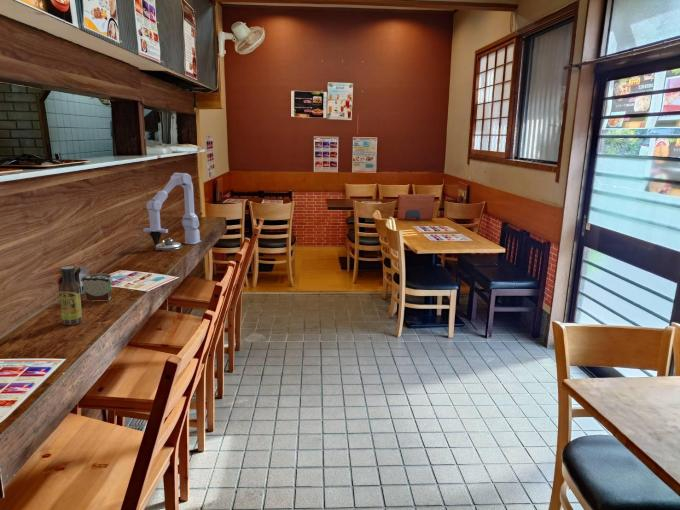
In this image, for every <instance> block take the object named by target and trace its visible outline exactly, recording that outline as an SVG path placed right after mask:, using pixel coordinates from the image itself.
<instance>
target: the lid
mask: <svg viewBox="0 0 680 510" xmlns="http://www.w3.org/2000/svg"><path fill="white" fill-rule="evenodd" d="M163 240H164V243H165V245H173V242H174V239H173V238H171V237H167V238H164V239H163Z"/></svg>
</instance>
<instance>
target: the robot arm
mask: <svg viewBox="0 0 680 510" xmlns="http://www.w3.org/2000/svg"><path fill="white" fill-rule="evenodd" d="M192 181H193V180H192V176H191V175H190V174H189V173H186V172H174V173H173V174H172V175H171V176H170V179H169V181H168V182H167V183H166V185H165V186H164V188H163V189H162V190H158V191H156V194H155V195H154V197H152V198H151V200H148V201H147V202H146V205H145V207H146V209H147V212H148V221H149V227H145V228H144V227H143V228H142V232H143V233H149V236H150V238H151V239H152V242H153V244H154V245H155V246H156V245H158V244H159V243H160V242H159V241H160V239H161V236H162V233H163V234H167V233H169V229H167V228H162V227H161V215H160V214H161V213H160V210H161V209H162V207H163V206H162V205H163V203H164V202H166V200H167V199H168V197H169V195H168V194H169V193H170V192H171V191H172V190H173V189H174V188H175V187H176V186H181V187H182V188H183V196H184V197H183V199H184V214H183V215H182V220H181V225H182V227H183V229H184V238H185V242H183V243H185V244H186V245H196V244H198V243H201V242H202V240H201V235H200V229H198V228H199V227H200V221H199V217H198V216H197V214H196V213H195V202H194V201H195V200H194V199H195V198H194V197H195V196H194V184H193V182H192ZM185 244H184V245H185Z"/></svg>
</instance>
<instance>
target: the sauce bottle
mask: <svg viewBox="0 0 680 510" xmlns="http://www.w3.org/2000/svg"><path fill="white" fill-rule="evenodd" d="M60 272H61V283H60V285H59V287H58V289H59V291H58V294H59V295H58V296H59V307H60V309H59V310H60V318H61V320H62V321H61V322H62V324H63V325H67V326H74V325H75V326H76V325H77V324H81V323H82V322H83V319H82V318H83V312H82V301H81V299H82V298H81V291H80V285H79V284H78V283H79V282H77V281H76V278H75V267H74V266H73V265H72V266H71V265H68V266H67V265H66V266H63V267H60ZM80 322H81V323H80Z"/></svg>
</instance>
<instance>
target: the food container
mask: <svg viewBox="0 0 680 510" xmlns="http://www.w3.org/2000/svg"><path fill="white" fill-rule="evenodd" d="M80 282H81V283H82V287H83V292H84V296H85V301H86V300H110V299H111V300H112V282H114V280H113V277H112V275H111V274H109V273H104V272H103V273H101V272H100V273H91V274H89V273H88V274H86V275H82V276H81V277H80Z"/></svg>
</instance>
